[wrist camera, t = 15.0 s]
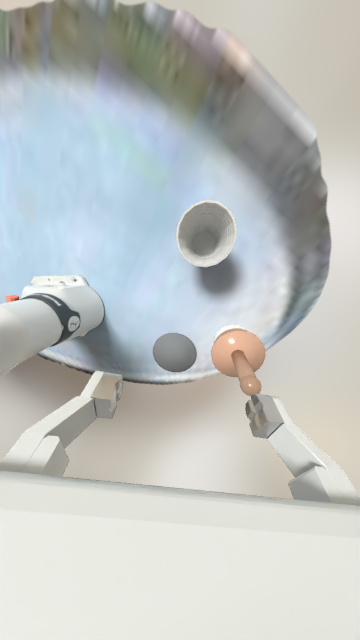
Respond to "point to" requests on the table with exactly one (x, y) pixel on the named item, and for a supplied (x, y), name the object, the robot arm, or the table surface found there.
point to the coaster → (174, 352)
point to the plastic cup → (206, 233)
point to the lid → (240, 358)
